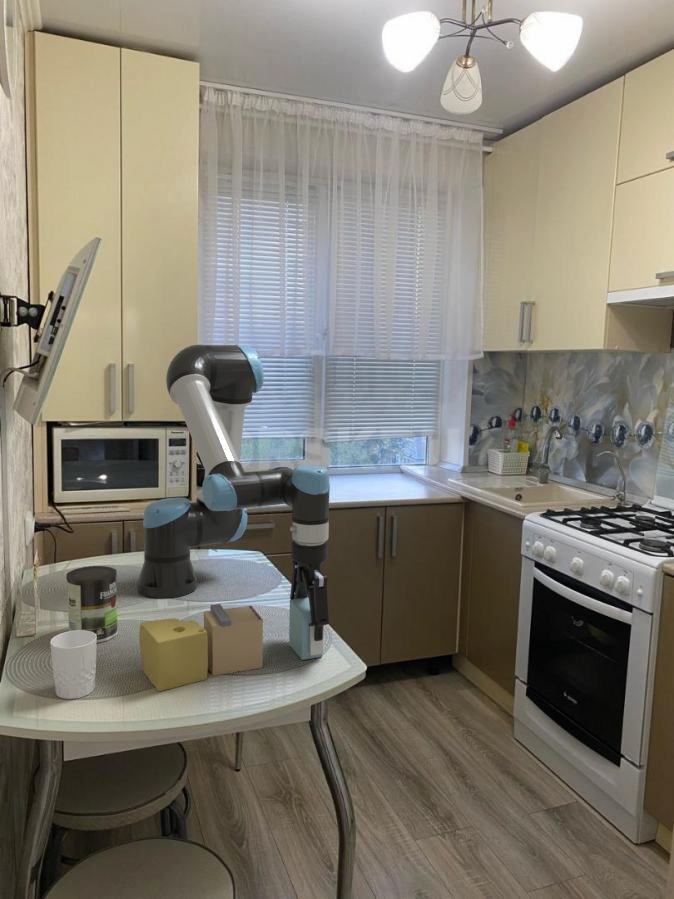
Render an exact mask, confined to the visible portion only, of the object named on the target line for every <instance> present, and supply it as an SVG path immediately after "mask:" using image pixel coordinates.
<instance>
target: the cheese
mask: <svg viewBox="0 0 674 899" xmlns="http://www.w3.org/2000/svg"><path fill="white" fill-rule="evenodd" d="M138 634H139V635H138V642H139V650H140V651H139V652H140V657H141V663H142V669H143V673H144V674H145V675H146V677H147V678H148V680H149V681H150V682H151V684H152V685H154V687H155V689H157V691H158V692H162V691H168V690H171V689H176V688H178V687H182V686H184V685H189V684H192V683H196V682H197V683H198V682H202V681H205V680H207V679H208V670H209V667H208V639H207V631H206V630H205V629H204V626H202V624H200V623H198V622H197V621H196V620H181V619H179V618H176V617H173V618H172V617H171V618H165V619H164V618H163V619H155V620H149V621H145V622H141V623H140V625H139V633H138Z"/></svg>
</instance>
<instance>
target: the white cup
mask: <svg viewBox="0 0 674 899" xmlns="http://www.w3.org/2000/svg"><path fill="white" fill-rule="evenodd" d="M97 644H98V643H97V636H96V634H95V633H93V632H91V631H86V630H75V631H69V630H68V631H65V632H61V633H59V634H57V635H54V637H52V638H51V639H50V655H51V656H50V657H51V665H52V675H53V681H54V691H55V694H56V696H57V697H58V698H61V699H65V700H75V699H80V698H83V697H86V696H88V695H89V694H92V693H93V691H94V689H95V688H96V673H97Z"/></svg>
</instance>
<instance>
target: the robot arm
mask: <svg viewBox="0 0 674 899" xmlns="http://www.w3.org/2000/svg"><path fill="white" fill-rule="evenodd" d="M166 371H167V372H166V375H165V377H166V379H165V380H166V381H165V382H166V388H167V392H168V394H169V397H170V399H171V401H172V402H173V403H175V405H176V404H177V405H178V407H179V410H180V412H181V414H182V417H183V419H184V422H185V424H186V427H187V429H188V432H189V434H190V436H191V439H192V441H193V443H194V447H195V448H196V451H197V454H198V456H199V457H200V458H199V459H200V461H201V463H202V466H203V469H204V479H203V481H202V487H201V489H200V490H199V491H198V492H197V494H196V501H195V502H191V501H190V499H188V498H187V497H179V496H177V497H167V498H162V499H159V500H156V501H153V502H151V503H149V504H148V505H147V506H146V507H145V508H144V510H143V522H142V526H143V552H144V553H143V555H144V556H143V557H144V558H143V564H142V568H141V570H140V573H139V576H138V579H137V591H138V593H140V594H141V595H142V596H145V597H150V598H156V599H157V598H158V599H168V598H169V599H170V598H178V597H183V596H186V595H188V594H191V593H193V592H195V590H196V589H197V588H198V579H197V575H196V572H195V569H194V565H193V563H192V560H191V548H194V547H200V546H201V547H202V546H207V545H216V544H226V543H230V542H234V541H237V540H238V539H240V538H242V536H243V535H244V533H245V531H246V528H247V525H248V514H247V511H248V509H249V508H256V507H257V508H261V507H270V506H277V505H278V506H279V505H286V506H289V507H291V514H292V515H291V516H292V517H291V522H292V523H291V525H292V526H290V527H289V531H291V539H292V542H291V552H290V553H291V560H292V575H291V576H292V577H291V586H290V596H289V599H290V600H292V599H300V598H309V605H310V612H311V619H312V623H309V626H310V649H309V654H310V655H311V656H312V655H318V654H322V655H323V654H324V626H327V625H329V624H330V621H329V606H328V602H329V601H328V576H327V575H326V574H325V575H323V574H322V569H321V564H322V563H324V562H326V561H327V560H328V556H329V555H328V554H329V543H328V542H327V541H328V540H329V529H330V526H329V522H330V521H329V511H330V491H331V490H330V489H331V485H330V472H329V470H328V468H327V467H325V466H322V465H321V466H320V465H314V464H303V465H297V466H295V467H294V468H291V467H287V466H279V465H278V466H277V465H276V466H272V467H271V468H269V469H267V470H256V471H255V470H253V471H245V470H244V467H243V465H242V463H241V461H240V459H241V458H240V457H241V449H242V438H243V433H244V432H243V429H244V421H245V413H246V412H245V411H246V407H248V405H250V404H251V403H252V402H253V395H254V394H255V393H256V394H257V393H259V392H260V391H261V390H262V388H263V385H264V374H265V373H264V368H263V363H262V361H261V358H260V356H259V354H258V352H257V351H256V350H255V349H254V348H253V347H250V346H245V345H244V346H243V345H238V344H227V345H226V344H225V345H224V344H219V345H218V344H217V345H216V344H193V345H189V346H187V347H184V348H183V349H181V350H179V352H178V353H177V354H175V356H174V357H173V358H172V360H171V362H170V363H169V366H168V367H167V370H166Z"/></svg>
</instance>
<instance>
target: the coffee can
mask: <svg viewBox="0 0 674 899" xmlns="http://www.w3.org/2000/svg"><path fill="white" fill-rule="evenodd" d="M117 573H118V572H117V569H116V568H114V567H112V566H107V565H106V566H105V565H92V566H91V565H89V566H83V567H79V568H75V569H72V570H71V571H68V572H67V573H66V575H65V577H66V578H65V579H66V584H67V585H66V586H67V587H66V588H67V611H68V612H67V613H68V614H67V615H68V619H67V620H68V631H75V630H86V631H91V632H93V633H95V634H96V636H97V644H100V643H105V642H107V641H109V640H112V639H114V638H115V637H116V636H118V633H119V630H118V604H117V603H118V598H117V597H118V593H117V591H118V590H117V588H118V587H117V575H118V574H117Z"/></svg>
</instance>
